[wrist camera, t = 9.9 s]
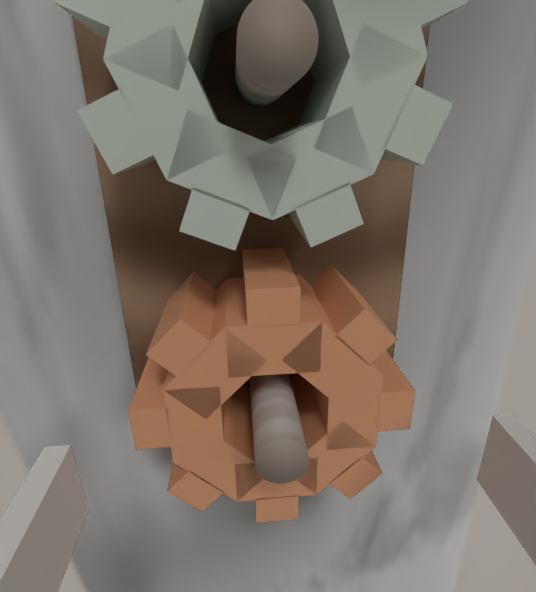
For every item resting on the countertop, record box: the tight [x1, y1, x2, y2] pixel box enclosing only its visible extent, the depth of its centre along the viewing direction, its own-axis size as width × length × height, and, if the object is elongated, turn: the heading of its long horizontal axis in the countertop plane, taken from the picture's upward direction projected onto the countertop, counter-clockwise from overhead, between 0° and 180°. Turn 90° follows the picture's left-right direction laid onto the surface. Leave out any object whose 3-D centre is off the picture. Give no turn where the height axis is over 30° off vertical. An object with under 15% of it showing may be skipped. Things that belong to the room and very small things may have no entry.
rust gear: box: [128, 248, 415, 523], centre depth 17 cm, size 11×11×5 cm
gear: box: [56, 0, 467, 251], centre depth 13 cm, size 11×11×5 cm
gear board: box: [72, 0, 430, 484], centre depth 15 cm, size 20×13×9 cm, turn 1°
